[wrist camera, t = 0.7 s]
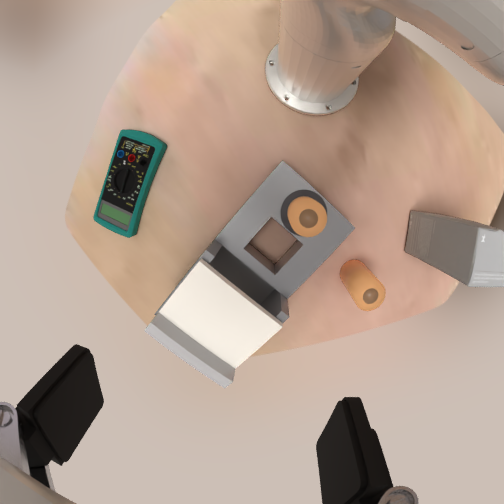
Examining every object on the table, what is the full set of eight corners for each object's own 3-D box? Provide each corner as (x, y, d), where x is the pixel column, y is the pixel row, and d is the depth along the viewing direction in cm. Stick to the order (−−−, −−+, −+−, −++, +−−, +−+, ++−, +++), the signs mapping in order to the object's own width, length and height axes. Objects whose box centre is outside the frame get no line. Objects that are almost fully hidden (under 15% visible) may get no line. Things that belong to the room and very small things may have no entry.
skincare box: (402, 251, 37) (462, 294, 22) (410, 203, 35) (478, 225, 20) (444, 255, 36) (506, 294, 21) (451, 211, 34) (520, 235, 19)
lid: (201, 258, 29) (193, 269, 26) (282, 322, 31) (283, 339, 28) (155, 316, 32) (144, 330, 29) (228, 370, 33) (224, 388, 30)
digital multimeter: (170, 141, 35) (163, 139, 32) (137, 236, 39) (128, 241, 36) (129, 127, 35) (120, 124, 32) (100, 218, 39) (90, 221, 36)
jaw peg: (353, 254, 37) (372, 274, 30) (370, 271, 38) (391, 294, 30) (334, 274, 38) (348, 298, 31) (352, 290, 39) (368, 317, 31)
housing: (281, 161, 35) (284, 158, 26) (346, 222, 36) (367, 236, 28) (175, 286, 41) (154, 314, 32) (237, 334, 42) (229, 370, 34)
